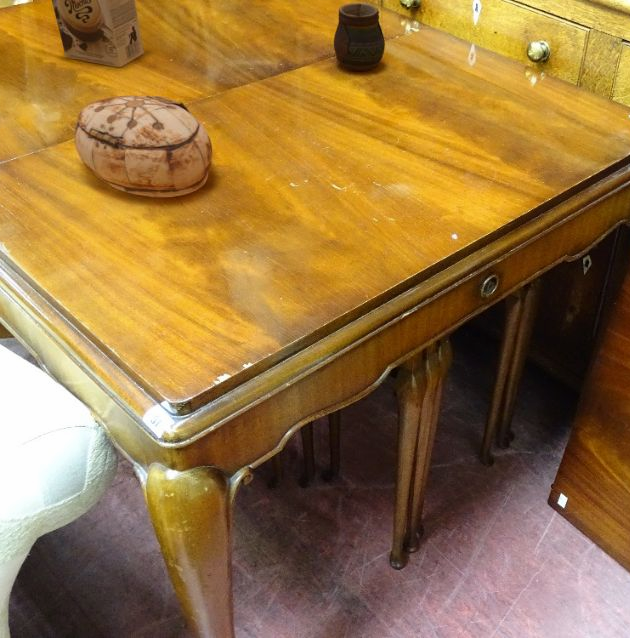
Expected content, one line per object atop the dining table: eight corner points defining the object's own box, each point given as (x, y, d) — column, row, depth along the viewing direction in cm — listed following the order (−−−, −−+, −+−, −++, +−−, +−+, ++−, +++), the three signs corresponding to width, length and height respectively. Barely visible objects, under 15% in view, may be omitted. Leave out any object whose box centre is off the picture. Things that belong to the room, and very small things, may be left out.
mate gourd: (378, 54, 115) (379, -16, 109) (390, 74, 110) (391, 2, 103) (330, 57, 113) (328, -14, 107) (340, 77, 108) (338, 4, 101)
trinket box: (205, 206, 81) (194, 137, 76) (59, 201, 80) (38, 131, 75) (228, 146, 91) (220, 81, 86) (99, 141, 90) (83, 76, 85)
